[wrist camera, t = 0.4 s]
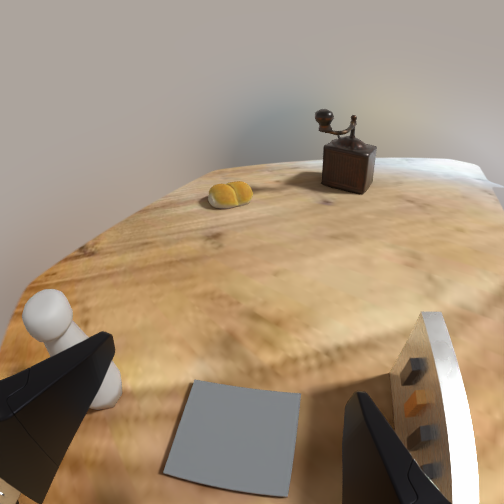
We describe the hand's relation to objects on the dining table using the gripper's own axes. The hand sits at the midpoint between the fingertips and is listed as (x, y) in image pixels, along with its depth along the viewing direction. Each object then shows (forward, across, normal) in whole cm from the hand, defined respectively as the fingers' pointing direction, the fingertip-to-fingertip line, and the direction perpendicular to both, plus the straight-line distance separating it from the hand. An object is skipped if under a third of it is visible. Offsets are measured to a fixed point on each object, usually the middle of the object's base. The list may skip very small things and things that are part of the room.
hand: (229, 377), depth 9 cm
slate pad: (+6, -1, +15) cm, 16 cm away
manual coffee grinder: (+60, -15, +3) cm, 62 cm away
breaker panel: (+5, -16, +12) cm, 21 cm away
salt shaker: (+7, +12, +18) cm, 23 cm away
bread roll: (+51, +9, +9) cm, 52 cm away
